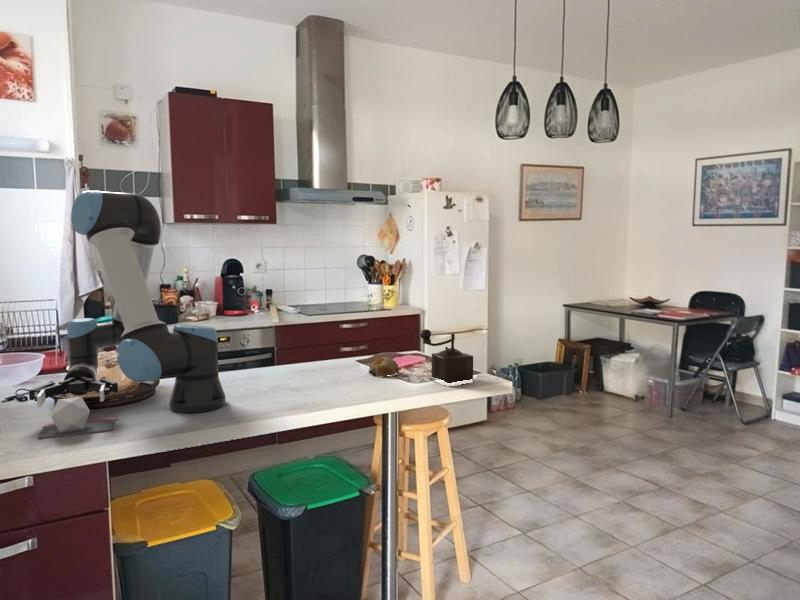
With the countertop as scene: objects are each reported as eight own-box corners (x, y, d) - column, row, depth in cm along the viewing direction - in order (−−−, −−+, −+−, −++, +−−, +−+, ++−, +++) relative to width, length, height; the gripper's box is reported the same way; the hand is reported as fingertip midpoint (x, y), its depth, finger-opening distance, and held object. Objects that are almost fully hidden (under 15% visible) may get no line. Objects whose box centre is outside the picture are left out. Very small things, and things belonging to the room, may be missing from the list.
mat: (114, 421, 152) (114, 419, 152) (112, 430, 144) (112, 429, 144) (44, 428, 146) (44, 427, 146) (37, 439, 138) (37, 437, 138)
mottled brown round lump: (392, 388, 200) (402, 367, 199) (365, 375, 200) (375, 354, 199) (393, 381, 210) (402, 361, 209) (367, 368, 210) (376, 349, 209)
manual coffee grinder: (454, 376, 202) (454, 325, 200) (473, 383, 193) (475, 330, 191) (416, 382, 194) (417, 328, 192) (435, 389, 185) (436, 333, 183)
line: (117, 417, 155) (117, 416, 155) (117, 419, 153) (117, 419, 153) (44, 425, 148) (44, 424, 148) (42, 427, 146) (42, 426, 146)
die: (92, 424, 150) (67, 395, 149) (103, 414, 144) (78, 384, 143) (63, 444, 143) (37, 414, 142) (74, 435, 138) (47, 403, 137)
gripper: (130, 387, 168) (127, 408, 149) (29, 396, 158) (12, 419, 139) (128, 362, 167) (125, 379, 148) (27, 369, 158) (10, 389, 138)
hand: (70, 399), depth 143 cm, fingers open, 13 cm apart
